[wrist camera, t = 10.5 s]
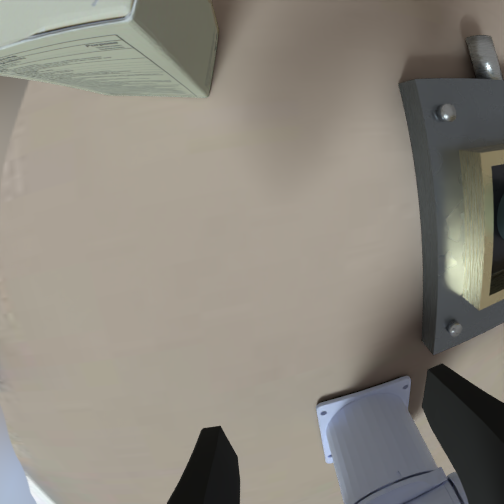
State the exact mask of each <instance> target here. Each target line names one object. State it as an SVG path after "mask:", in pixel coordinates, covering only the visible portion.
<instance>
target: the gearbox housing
mask: <svg viewBox="0 0 504 504" xmlns="http://www.w3.org/2000/svg"><path fill="white" fill-rule="evenodd" d="M466 43H467V46H468V49H469V53H470V56H471V60H472V63H473V67H474V71H475V75H476V79H470V78H432V79H414V80H410V81H407V82H403V83H400V84H399V88H400V92H401V96H402V101H403V105H404V110H405V114H406V119H407V124H408V129H409V135H410V140H411V146H412V152H413V159H414V165H415V173H416V180H417V188H418V198H419V208H420V219H421V233H422V252H423V322H422V341H423V343H424V344H425V345H426V346H427V348H428V349H429V350H430V352H431V353H432V354H433V355H435V354H437V353H440V352H442V351H444V350H447V349H449V348H451V347H454V346H456V345H458V344H460V343H463V342H465V341H467V340H469V339H471V338H473V337H475V336H478V335H480V334H482V333H484V332H486V331H488V330H490V329H492V328H494V327H496V326H498V325H500V324H501V323H503V322H504V239H503V238H502V237H501V235H500V233H499V231H498V226H497V213H498V207H499V203H500V201H501V198H502V196H503V194H504V80H503V77H502V73H501V69H500V65H499V61H498V58H497V54H496V51H495V47H494V44H493V41H492V37H491V36H486V35H476V36H470V37H467V38H466Z"/></svg>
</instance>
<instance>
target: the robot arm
mask: <svg viewBox="0 0 504 504" xmlns="http://www.w3.org/2000/svg"><path fill="white" fill-rule="evenodd" d="M410 387H411V379H410V377H409V376H403V377H401V378H398V379H395V380H392V381H390V382H387V383H384V384H381V385H378V386H375V387H372V388H369V389H366V390H363V391H359V392H356V393H353V394H350V395H346V396H343V397H339V398H336V399H332V400H329V401H325V402H321V403H319V404H318V405H317V406H316V411H317V416H318V421H319V427H320V432H321V438H322V443H323V449H324V454H325V460H326V463H334V466H335V470H336V474H337V478H338V482H339V486H340V489H341V493H342V497H343V501H344V504H504V403H503V402H501V401H499V400H498V399H496V398H494V397H492V396H491V395H489V394H488V393H486V392H484V391H483V390H481V389H480V388H478V387H477V386H475V385H473V384H472V383H470V382H469V381H468V380H466V379H465V378H463V377H462V376H460V375H459V374H457V373H456V372H454V371H453V370H451V369H450V368H448V367H447V366H445V365H444V364H440V365H437V366H435V367H433V368H430V369H428V371H427V378H426V385H425V391H424V397H423V403H422V408H423V410H424V412H425V415H426V417H427V420H428V422H429V424H430V427H431V429H432V431H433V432H434V434H435V436H436V437H437V439H438V441H439V443H440V444H441V446H442V448H443V450H444V451H445V453H446V455H447V456H448V458H449V460H450V462H451V463H452V465H453V467H454V469H455V470H456V472H457V473H456V472H453V473H451V474H449V475H448V476H447V477H446V475H445V473H444V471H443V469H442V467H439V468H438V467H437V465H436V463H435V461H434V459H433V457H432V455H431V453H430V451H429V449H428V447H427V445H426V443H425V441H424V440H423V438H422V436H421V434H420V432H419V430H418V428H417V426H416V424H415V422H414V421H413V419H412V417H411V415H410V413H409V411H408V404H409V396H410ZM323 411H324V412H323ZM167 504H240V475H239V466H238V457H237V455H236V453H235V451H234V450H233V448H232V446H231V444H230V442H229V441H228V439H227V437H226V435H225V433H224V432H223V430H222V428H221V426H217V427H209V428H203V429H202V430H201V432H200V435H199V438H198V440H197V443H196V445H195V448H194V450H193V453H192V455H191V457H190V459H189V462H188V464H187V466H186V468H185V470H184V472H183V474H182V476H181V479H180V481H179V483H178V484H177V486H176V488H175V490H174V492H173V493H172V495H171V497H170V499H169V500H168V502H167Z"/></svg>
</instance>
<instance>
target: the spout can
mask: <svg viewBox="0 0 504 504" xmlns="http://www.w3.org/2000/svg"><path fill="white" fill-rule="evenodd" d="M497 226H498V231H499V233H500V235H501V237H502V238H503V239H504V194H503V196H502V198H501V201H500V203H499V207H498V213H497Z"/></svg>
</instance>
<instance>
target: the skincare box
mask: <svg viewBox="0 0 504 504" xmlns="http://www.w3.org/2000/svg"><path fill="white" fill-rule="evenodd" d="M218 33H219V28H218V24H217V20H216V16H215V12H214V9H213V5H212V1H211V0H0V76H8V77H15V78H22V79H29V80H35V81H40V82H46V83H52V84H57V85H62V86H68V87H73V88H77V89H82V90H87V91H91V92H95V93H100V94H104V95H128V96H169V97H197V98H207V97H208V96H209V92H210V86H211V80H212V74H213V68H214V61H215V55H216V48H217V41H218Z"/></svg>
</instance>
